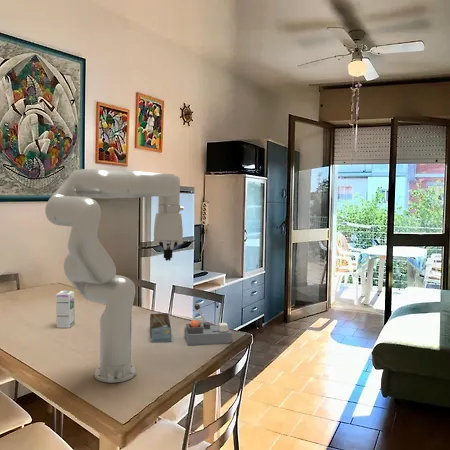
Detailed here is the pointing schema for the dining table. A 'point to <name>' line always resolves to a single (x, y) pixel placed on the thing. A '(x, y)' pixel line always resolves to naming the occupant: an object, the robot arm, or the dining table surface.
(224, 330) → the slider
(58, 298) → the syrup box
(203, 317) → the lever
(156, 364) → the dining table surface
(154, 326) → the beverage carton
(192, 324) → the button
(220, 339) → the panel
